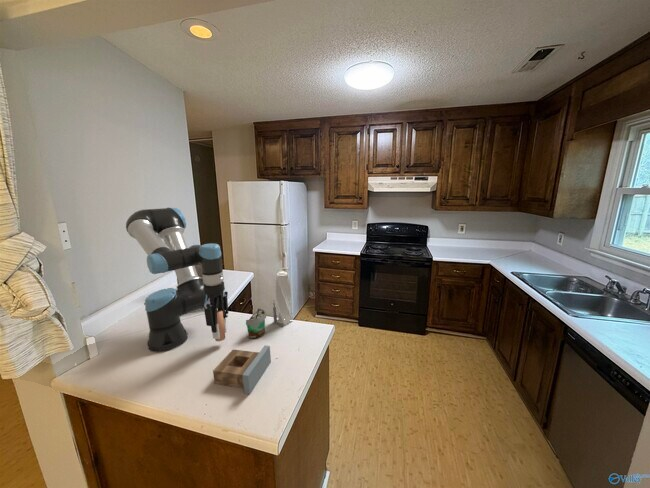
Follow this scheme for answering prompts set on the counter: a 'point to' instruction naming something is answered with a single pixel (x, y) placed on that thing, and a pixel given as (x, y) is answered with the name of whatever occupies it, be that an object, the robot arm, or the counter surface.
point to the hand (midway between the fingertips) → (219, 334)
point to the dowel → (220, 325)
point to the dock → (256, 369)
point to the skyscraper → (282, 298)
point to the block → (233, 368)
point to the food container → (256, 324)
